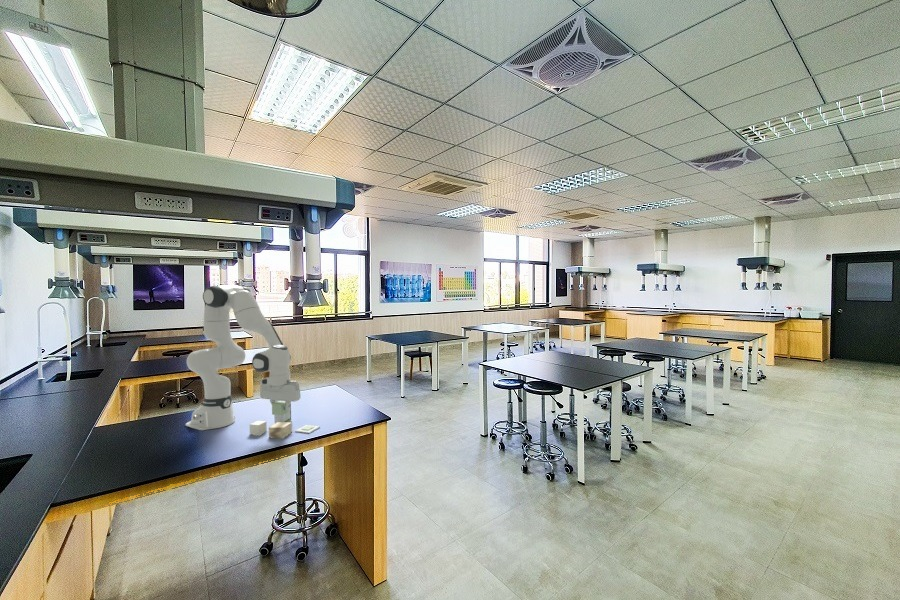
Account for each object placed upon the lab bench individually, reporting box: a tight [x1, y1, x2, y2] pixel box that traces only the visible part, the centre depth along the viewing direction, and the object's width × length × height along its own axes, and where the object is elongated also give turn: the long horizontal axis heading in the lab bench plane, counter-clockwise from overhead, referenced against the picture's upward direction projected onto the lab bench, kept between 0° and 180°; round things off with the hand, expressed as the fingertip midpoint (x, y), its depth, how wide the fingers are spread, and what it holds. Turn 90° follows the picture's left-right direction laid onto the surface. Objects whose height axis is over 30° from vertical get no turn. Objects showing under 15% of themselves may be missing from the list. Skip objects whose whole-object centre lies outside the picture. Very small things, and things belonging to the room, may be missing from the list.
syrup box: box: [273, 400, 292, 424], centre depth 185 cm, size 6×6×14 cm
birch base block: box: [268, 421, 293, 439], centre depth 169 cm, size 7×7×5 cm
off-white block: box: [249, 420, 268, 436], centre depth 171 cm, size 5×5×5 cm
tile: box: [294, 424, 321, 434], centre depth 175 cm, size 8×8×1 cm
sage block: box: [271, 401, 289, 416], centre depth 169 cm, size 5×5×5 cm
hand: (280, 409), depth 169 cm, fingers closed on sage block, 5 cm apart
